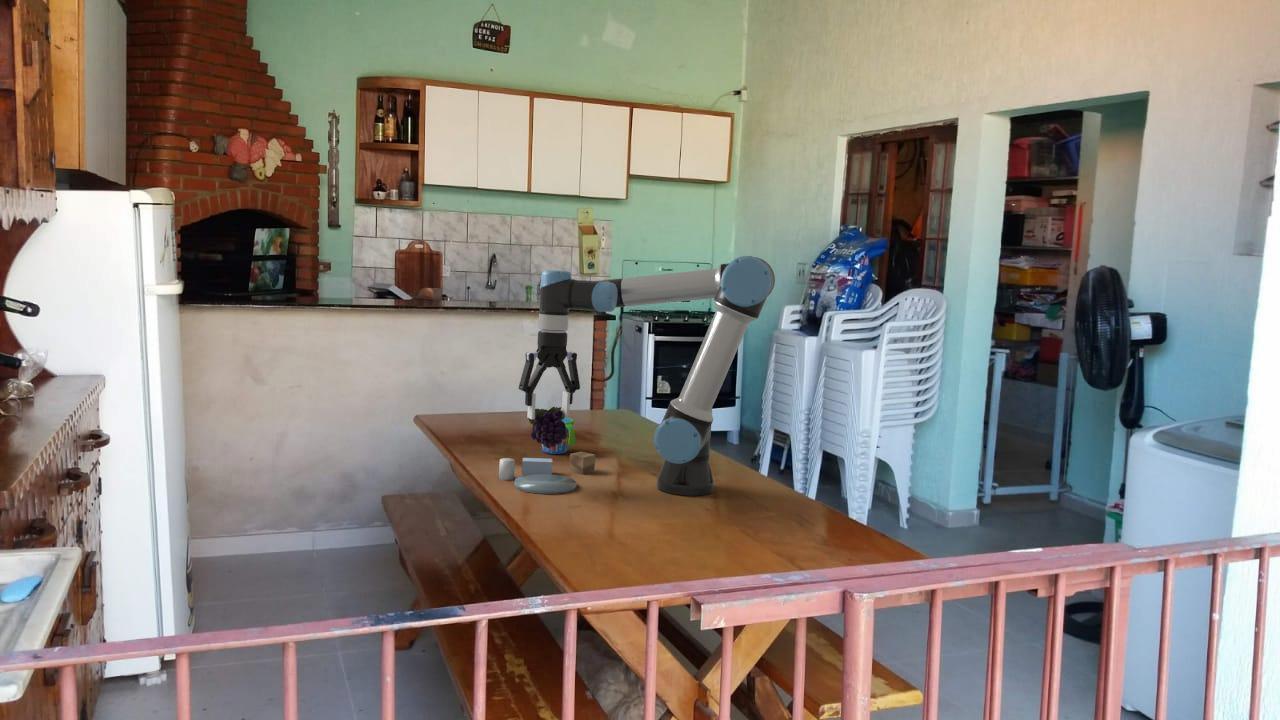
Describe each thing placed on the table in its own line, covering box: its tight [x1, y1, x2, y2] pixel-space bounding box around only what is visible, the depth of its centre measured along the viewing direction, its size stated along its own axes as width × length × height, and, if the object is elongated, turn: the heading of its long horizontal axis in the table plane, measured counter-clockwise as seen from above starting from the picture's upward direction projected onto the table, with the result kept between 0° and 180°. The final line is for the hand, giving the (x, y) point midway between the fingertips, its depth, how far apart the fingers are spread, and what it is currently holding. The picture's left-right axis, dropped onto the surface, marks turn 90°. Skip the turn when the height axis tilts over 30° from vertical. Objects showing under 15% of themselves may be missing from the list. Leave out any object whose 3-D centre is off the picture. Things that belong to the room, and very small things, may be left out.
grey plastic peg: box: [498, 457, 516, 481], centre depth 249 cm, size 4×4×5 cm
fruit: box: [527, 406, 567, 448], centre depth 242 cm, size 10×11×15 cm
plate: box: [514, 474, 577, 495], centre depth 243 cm, size 16×16×1 cm
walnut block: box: [568, 451, 596, 476], centre depth 262 cm, size 5×5×5 cm
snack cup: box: [541, 417, 576, 455], centre depth 283 cm, size 16×10×10 cm
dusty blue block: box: [521, 457, 553, 476], centre depth 256 cm, size 4×8×4 cm, turn 96°
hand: (548, 417), depth 242 cm, fingers closed on fruit, 9 cm apart
